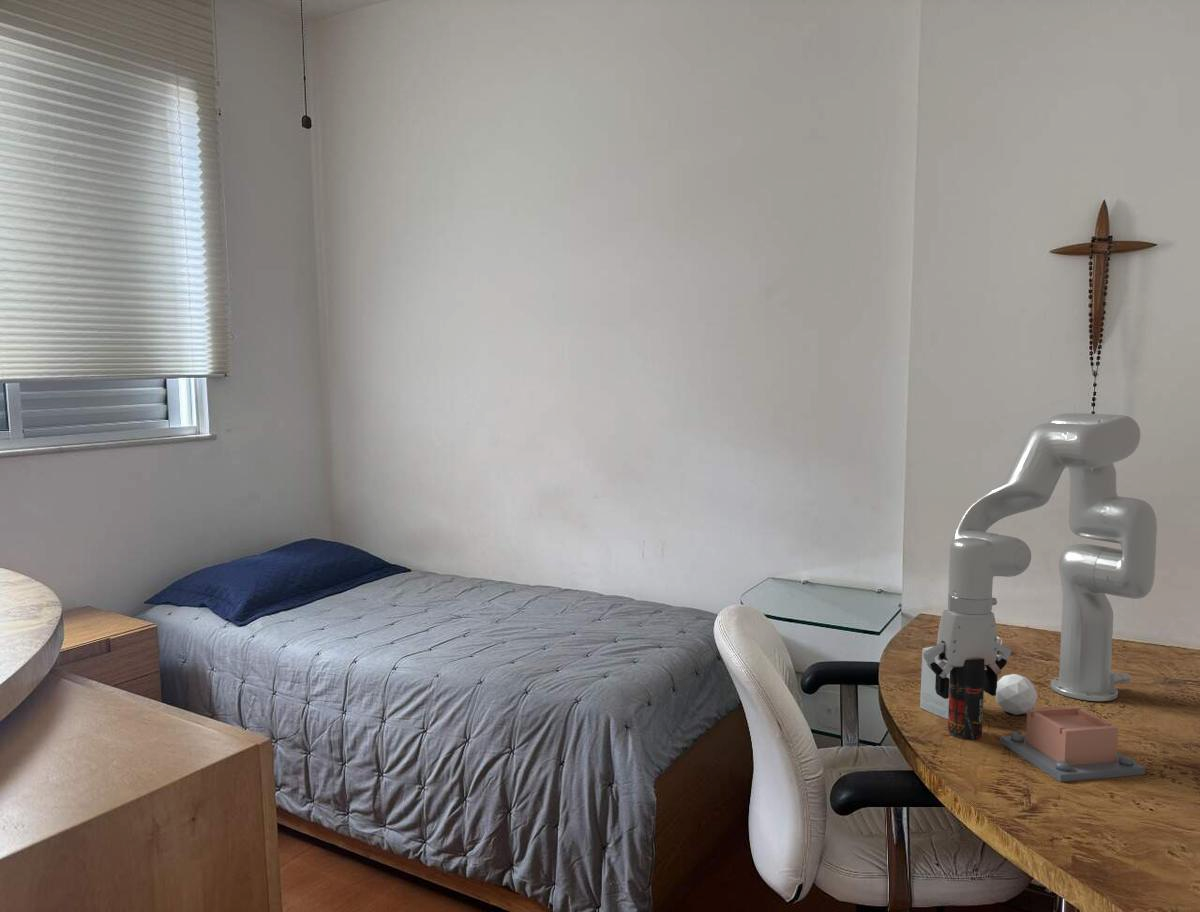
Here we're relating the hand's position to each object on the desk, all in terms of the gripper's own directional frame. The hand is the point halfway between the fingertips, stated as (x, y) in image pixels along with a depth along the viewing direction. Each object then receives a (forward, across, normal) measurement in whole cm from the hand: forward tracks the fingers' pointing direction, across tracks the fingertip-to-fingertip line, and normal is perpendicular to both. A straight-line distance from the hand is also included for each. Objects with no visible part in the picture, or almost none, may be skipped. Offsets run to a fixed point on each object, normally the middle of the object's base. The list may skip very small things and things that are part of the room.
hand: (965, 694), depth 166 cm
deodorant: (+8, 0, 0) cm, 8 cm away
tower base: (+7, -12, +13) cm, 19 cm away
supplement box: (+8, -3, -11) cm, 14 cm away
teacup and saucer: (+8, -34, -47) cm, 59 cm away
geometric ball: (+8, -16, -8) cm, 20 cm away
